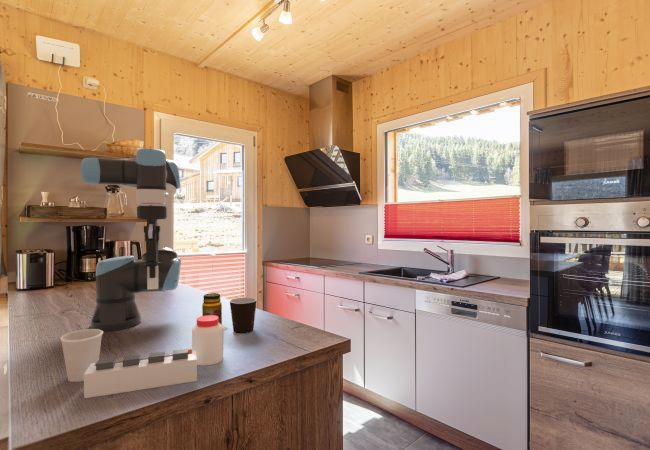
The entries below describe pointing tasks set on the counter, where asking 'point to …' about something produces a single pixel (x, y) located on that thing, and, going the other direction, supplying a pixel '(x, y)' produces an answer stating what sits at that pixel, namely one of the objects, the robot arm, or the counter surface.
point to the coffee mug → (243, 314)
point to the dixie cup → (80, 351)
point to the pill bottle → (208, 340)
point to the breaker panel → (140, 372)
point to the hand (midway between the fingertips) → (152, 288)
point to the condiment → (212, 306)
